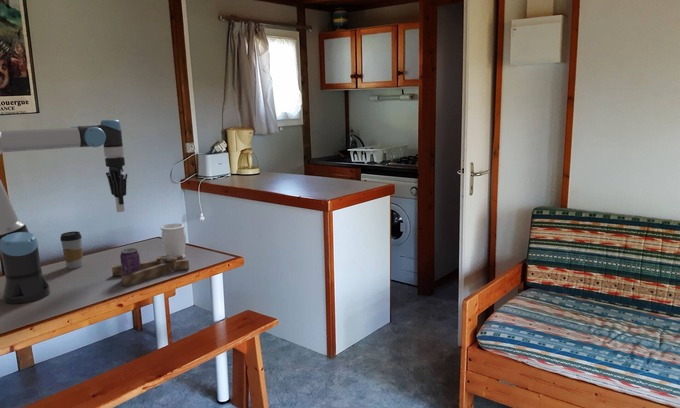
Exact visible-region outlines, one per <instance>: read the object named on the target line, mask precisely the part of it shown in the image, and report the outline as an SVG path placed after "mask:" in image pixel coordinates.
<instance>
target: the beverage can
mask: <svg viewBox="0 0 680 408" xmlns="http://www.w3.org/2000/svg"><path fill="white" fill-rule="evenodd" d="M119 257H120V258H119V259H120V265H121V267H122V275H121V276H124V275H127V274H130V273H133V272H137V271H140V270H141V266H140V262H141V259H140V257H141V256H140V252H139V251H138V249H137V248H135V247H134V248H133V247H131V248H126V249H123V250H120V255H119Z"/></svg>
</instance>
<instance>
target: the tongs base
mask: <svg viewBox="0 0 680 408" xmlns="http://www.w3.org/2000/svg"><path fill="white" fill-rule="evenodd" d="M174 257H177V260H183V259H184V258H183V256H182V255H178V256H174ZM173 267H174V262H173V261H168V262H167V261H164V262H161V264H159V265H156V266H153V267H150V268H146V269H143V270H140V271H137V272H133V273H130V274H127V275H124V276H123V275H120V278H121V285H122V287H124V288H127V287H130V286H133V285H136V284H139V283H143V282H145V281H147V280H151V279H154V278H156V277H160V276H163V275H165V274H169V273H172V272H173V269H174V268H173Z"/></svg>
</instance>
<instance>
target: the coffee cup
mask: <svg viewBox="0 0 680 408" xmlns="http://www.w3.org/2000/svg"><path fill="white" fill-rule="evenodd" d="M59 237H60V239H59V240H60V242H61V246H62V253H63V257H64V261H65V266H66V267H67V269H70V270H71V269H72V270H73V269H79V268H81V267H82V266H83V264H84V261H83V259H84V257H83V256H84V255H83V246H82V244H83V243H82V233H81V232H80V231H77V230H76V231H74V230H73V231H67V232H63V233H62V234H60V236H59Z"/></svg>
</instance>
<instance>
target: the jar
mask: <svg viewBox="0 0 680 408" xmlns="http://www.w3.org/2000/svg"><path fill="white" fill-rule="evenodd" d="M185 226H186V225H185V224H183V223H178V222H177V223H167V224H164V225H162V226H160V230H161V244H162V246H163V250H164V253H165V256H167V255H169V256H173V257H174V256H178V255H182V256H183V259H184V258H185V257H186V254H185V251H186V244H187V237H186V236H187V235H186V232H185Z"/></svg>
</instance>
